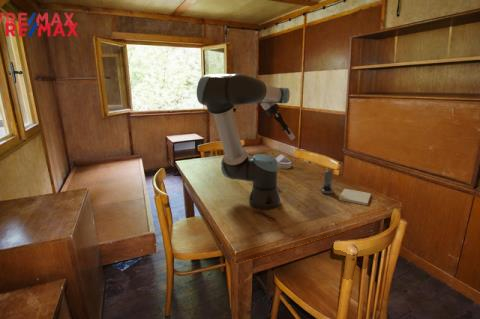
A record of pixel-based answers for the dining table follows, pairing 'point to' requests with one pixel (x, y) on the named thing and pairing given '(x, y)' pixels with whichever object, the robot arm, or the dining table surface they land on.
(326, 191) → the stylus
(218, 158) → the dining table surface
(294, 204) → the dining table surface
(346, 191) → the pad
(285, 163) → the wedge on round base
